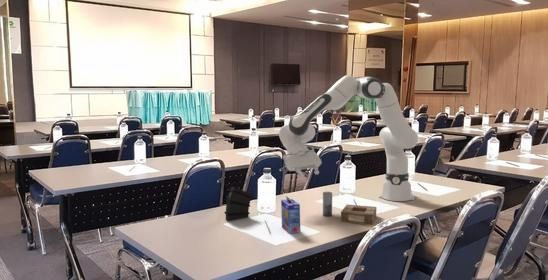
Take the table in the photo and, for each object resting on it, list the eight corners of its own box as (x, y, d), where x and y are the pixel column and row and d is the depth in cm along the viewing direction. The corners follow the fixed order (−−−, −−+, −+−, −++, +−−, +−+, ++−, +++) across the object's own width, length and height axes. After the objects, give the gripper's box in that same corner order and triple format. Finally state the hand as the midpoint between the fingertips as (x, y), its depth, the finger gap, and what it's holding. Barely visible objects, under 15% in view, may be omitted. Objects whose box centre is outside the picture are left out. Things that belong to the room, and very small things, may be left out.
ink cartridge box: (280, 226, 198) (280, 194, 196) (292, 225, 199) (292, 193, 198) (288, 233, 188) (288, 199, 187) (300, 232, 190) (300, 198, 188)
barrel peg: (324, 213, 217) (324, 191, 216) (333, 214, 216) (333, 192, 215) (321, 216, 213) (321, 193, 212) (330, 217, 212) (331, 194, 211)
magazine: (218, 216, 208) (230, 186, 210) (241, 224, 215) (253, 194, 217) (222, 218, 205) (234, 187, 207) (245, 226, 212) (257, 196, 213)
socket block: (346, 213, 218) (346, 204, 217) (376, 216, 213) (376, 206, 212) (340, 221, 204) (340, 212, 204) (372, 224, 199) (372, 215, 199)
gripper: (284, 150, 221) (297, 173, 214) (315, 147, 233) (328, 168, 226) (278, 158, 225) (291, 181, 218) (309, 154, 237) (322, 176, 230)
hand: (310, 174), depth 222 cm, fingers open, 8 cm apart
